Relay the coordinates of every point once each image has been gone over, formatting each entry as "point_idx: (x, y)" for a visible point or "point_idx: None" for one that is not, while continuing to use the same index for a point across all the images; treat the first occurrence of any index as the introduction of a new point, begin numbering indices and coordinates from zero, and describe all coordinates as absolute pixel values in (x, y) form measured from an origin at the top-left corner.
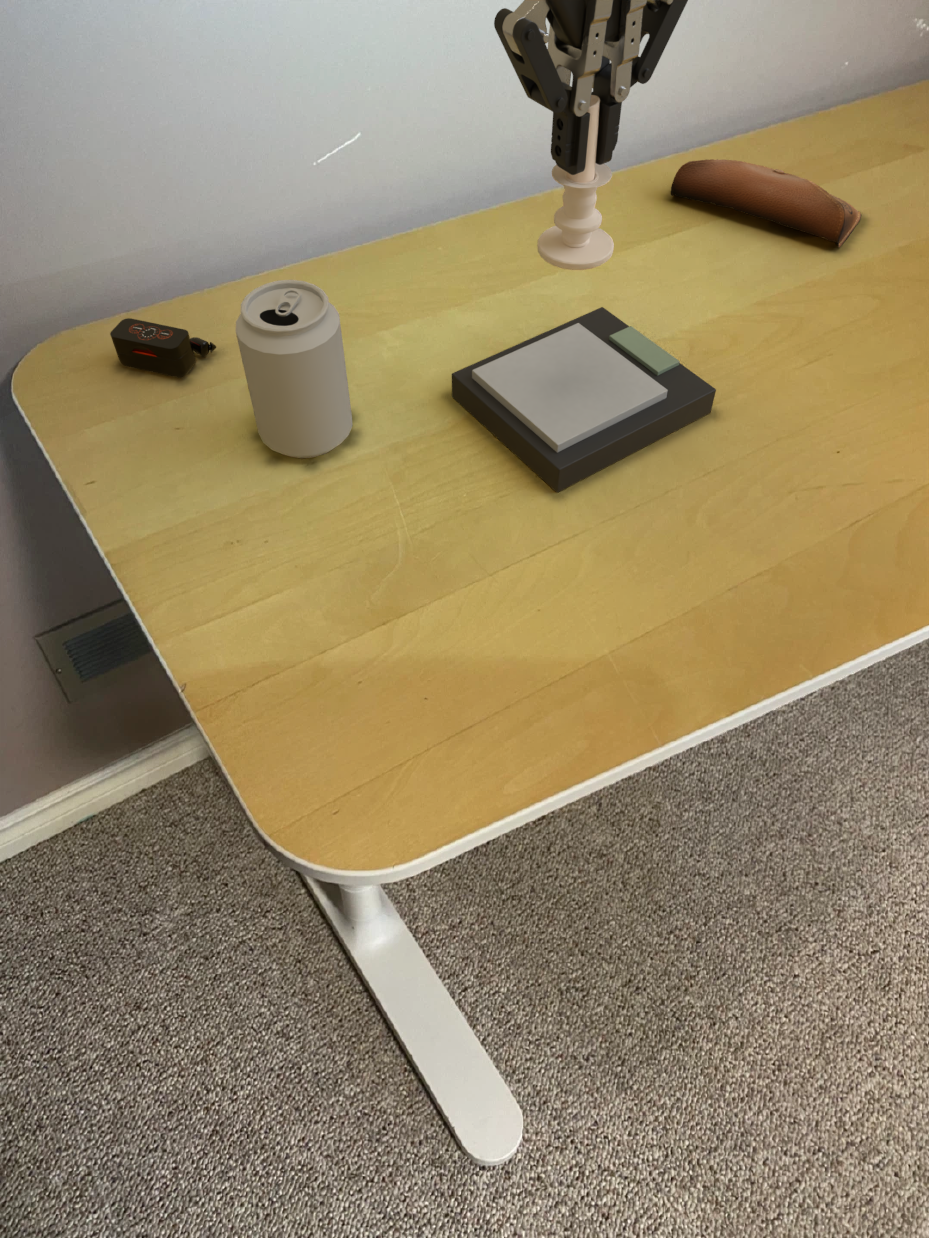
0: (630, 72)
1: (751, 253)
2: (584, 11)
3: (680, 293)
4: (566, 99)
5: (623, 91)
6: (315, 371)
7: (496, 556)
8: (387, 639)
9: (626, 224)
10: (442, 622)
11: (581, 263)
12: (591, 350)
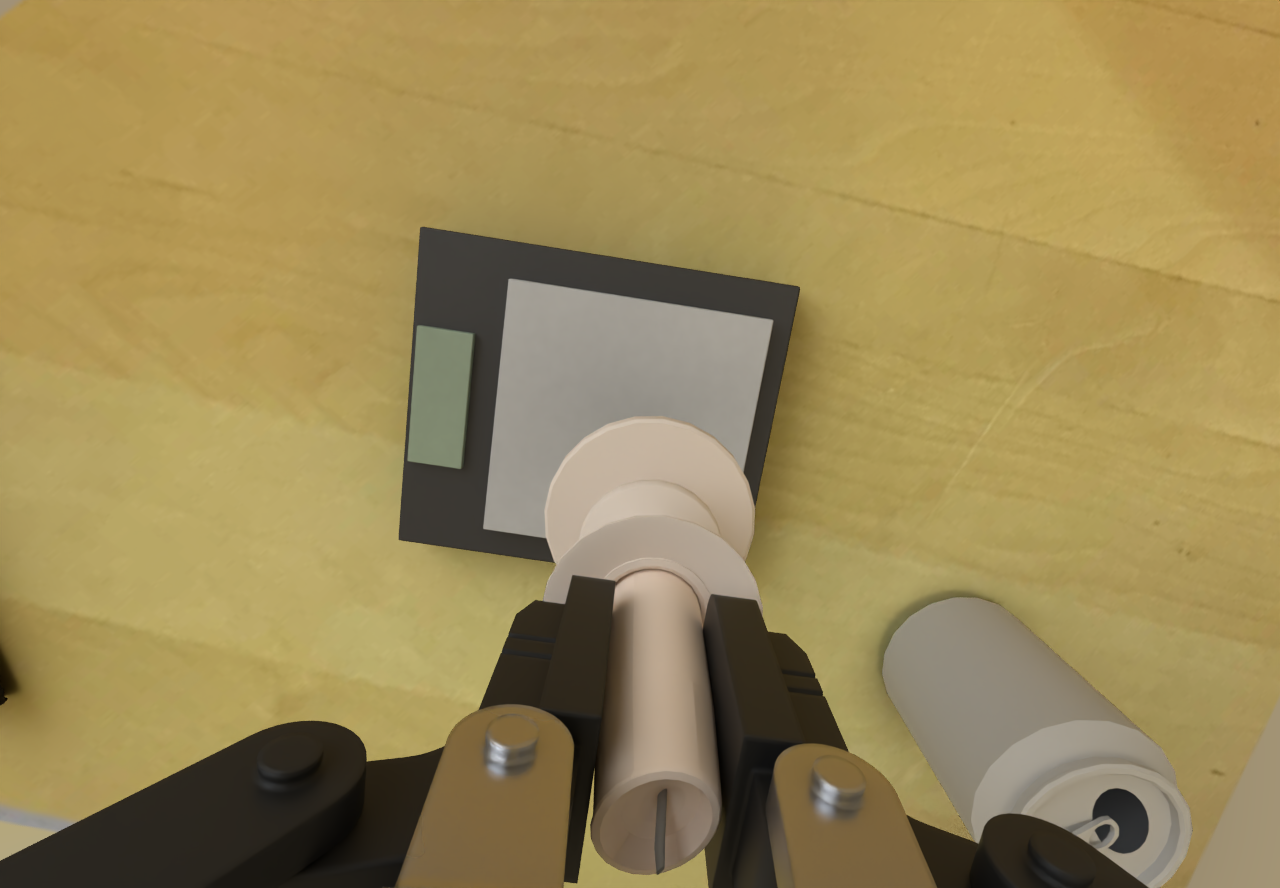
0: (429, 819)
1: (9, 481)
2: None
3: (218, 493)
4: (1000, 864)
5: (521, 737)
6: (1074, 689)
7: (964, 256)
8: (1200, 251)
9: (143, 695)
10: (1124, 216)
11: (717, 444)
12: (526, 458)
